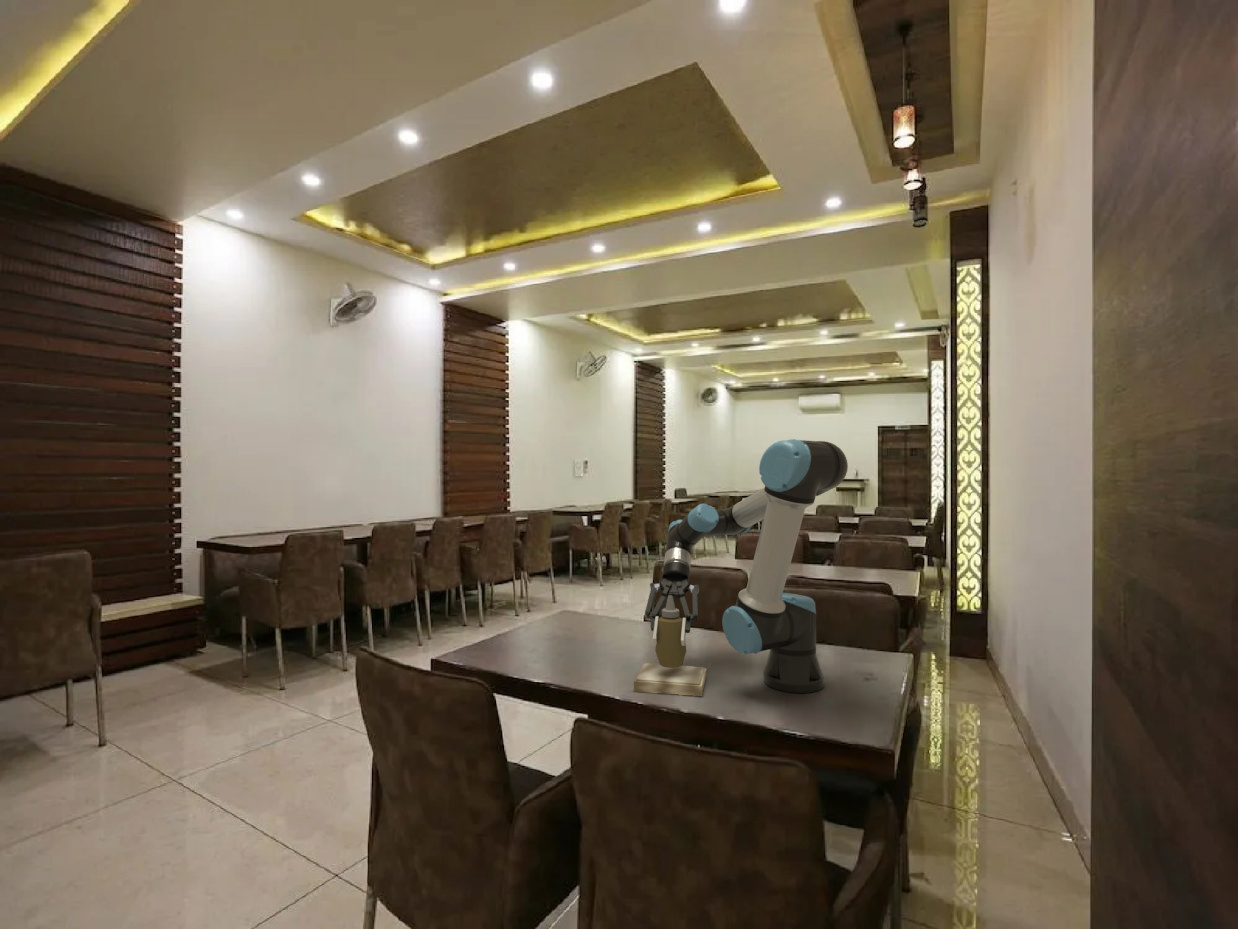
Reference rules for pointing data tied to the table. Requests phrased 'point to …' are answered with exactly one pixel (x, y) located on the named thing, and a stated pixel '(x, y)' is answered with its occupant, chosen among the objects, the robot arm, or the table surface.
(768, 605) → the robot arm
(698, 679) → the stand
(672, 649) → the squeeze bottle
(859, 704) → the table surface
